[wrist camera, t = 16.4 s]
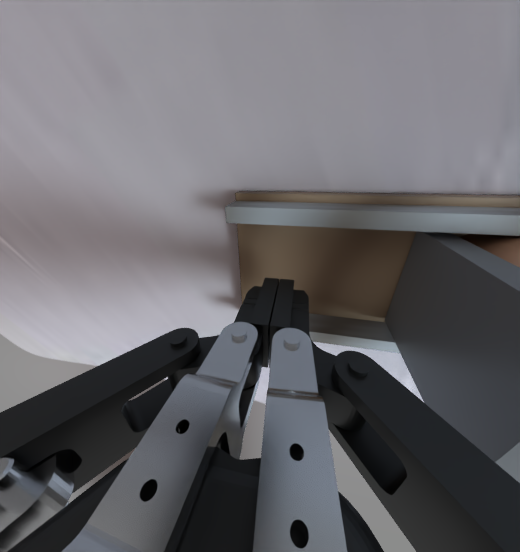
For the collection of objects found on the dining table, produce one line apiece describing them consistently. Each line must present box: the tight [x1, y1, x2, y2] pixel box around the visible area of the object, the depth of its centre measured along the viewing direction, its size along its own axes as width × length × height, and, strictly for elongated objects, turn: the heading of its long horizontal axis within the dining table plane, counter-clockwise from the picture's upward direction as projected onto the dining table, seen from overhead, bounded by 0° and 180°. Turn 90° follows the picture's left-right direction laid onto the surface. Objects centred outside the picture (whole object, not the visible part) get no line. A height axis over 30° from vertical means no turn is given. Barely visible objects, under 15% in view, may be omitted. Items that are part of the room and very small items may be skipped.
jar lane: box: [225, 191, 520, 353], centre depth 10 cm, size 28×9×6 cm, turn 90°
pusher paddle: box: [385, 231, 520, 483], centre depth 8 cm, size 1×6×8 cm, turn 0°
